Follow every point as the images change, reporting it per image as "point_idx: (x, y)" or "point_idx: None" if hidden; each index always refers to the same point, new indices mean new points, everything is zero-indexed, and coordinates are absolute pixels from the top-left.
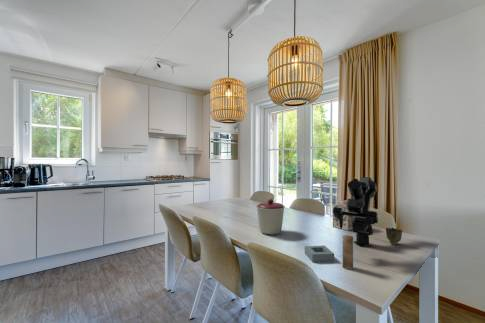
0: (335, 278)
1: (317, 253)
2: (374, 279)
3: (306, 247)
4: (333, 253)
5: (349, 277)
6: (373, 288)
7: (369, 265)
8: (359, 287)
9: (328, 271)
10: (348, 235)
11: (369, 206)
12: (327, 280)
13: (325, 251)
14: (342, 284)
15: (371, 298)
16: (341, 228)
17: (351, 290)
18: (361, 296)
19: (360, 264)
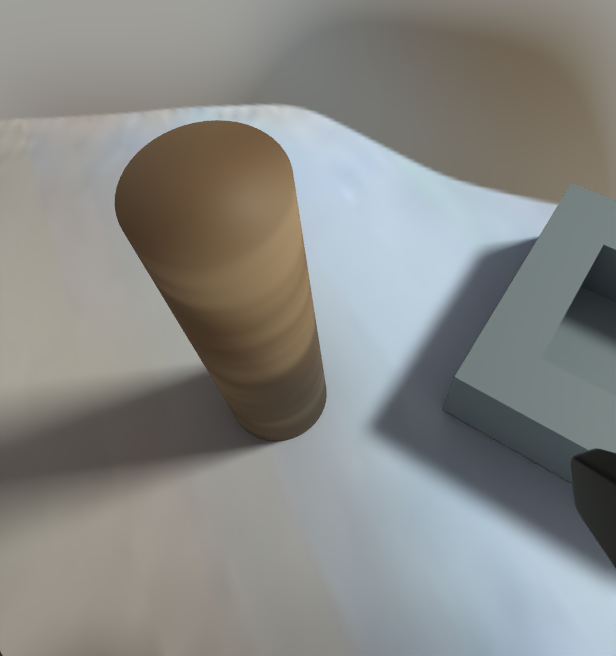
0: None
1: (564, 238)
2: (31, 366)
3: None
4: (463, 374)
5: None
6: (14, 241)
7: (137, 641)
8: (90, 188)
9: (349, 209)
10: (225, 252)
11: None
12: (278, 113)
13: (588, 390)
14: None
15: (5, 143)
16: (574, 479)
17: (118, 129)
18: (55, 121)
19: (220, 578)
